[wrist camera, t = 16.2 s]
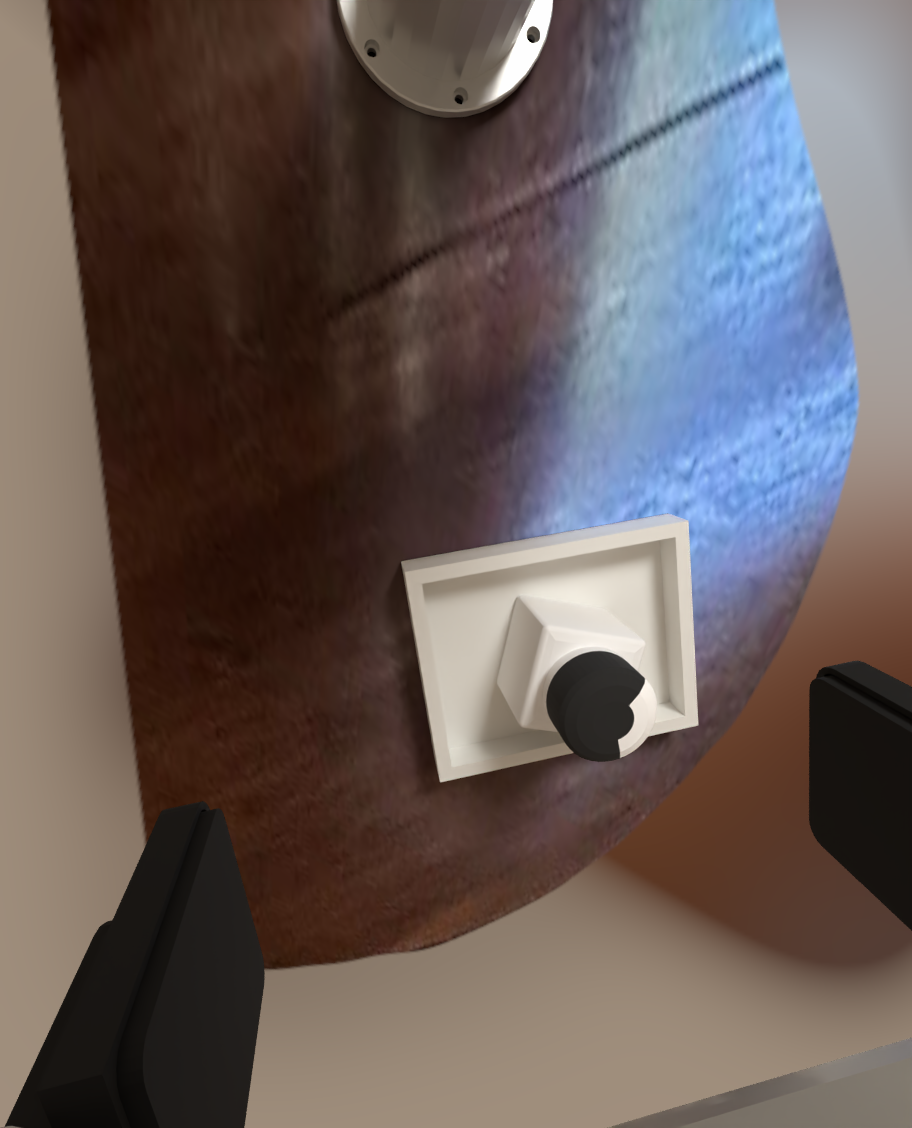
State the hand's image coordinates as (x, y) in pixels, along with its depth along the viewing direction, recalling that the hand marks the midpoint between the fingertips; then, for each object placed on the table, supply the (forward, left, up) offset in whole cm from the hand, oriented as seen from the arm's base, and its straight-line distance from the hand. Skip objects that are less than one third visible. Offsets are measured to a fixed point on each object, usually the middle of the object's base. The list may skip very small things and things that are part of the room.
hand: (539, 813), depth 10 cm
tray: (+13, +10, -36) cm, 40 cm away
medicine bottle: (+13, +10, -36) cm, 40 cm away
